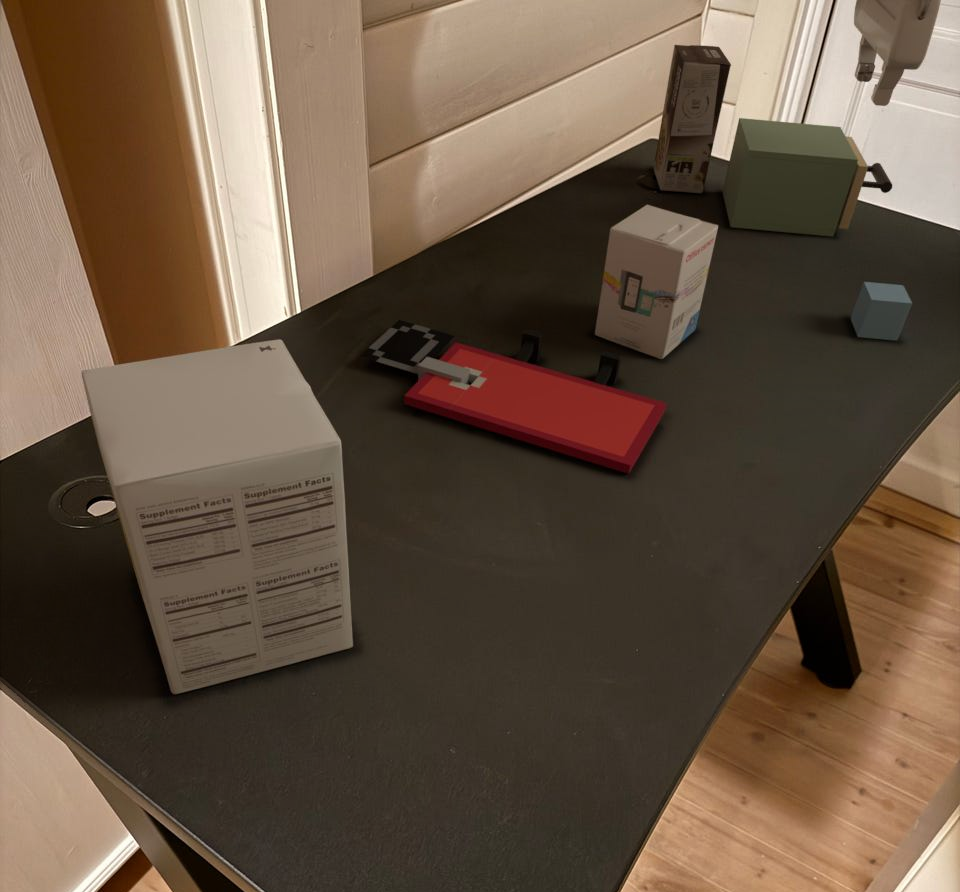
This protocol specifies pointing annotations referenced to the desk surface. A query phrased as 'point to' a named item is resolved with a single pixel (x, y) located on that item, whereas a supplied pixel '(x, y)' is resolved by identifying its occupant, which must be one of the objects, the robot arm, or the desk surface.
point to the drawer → (861, 184)
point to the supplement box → (227, 508)
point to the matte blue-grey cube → (880, 311)
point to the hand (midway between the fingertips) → (870, 91)
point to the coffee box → (690, 117)
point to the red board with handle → (523, 395)
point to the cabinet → (788, 177)
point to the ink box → (654, 280)
